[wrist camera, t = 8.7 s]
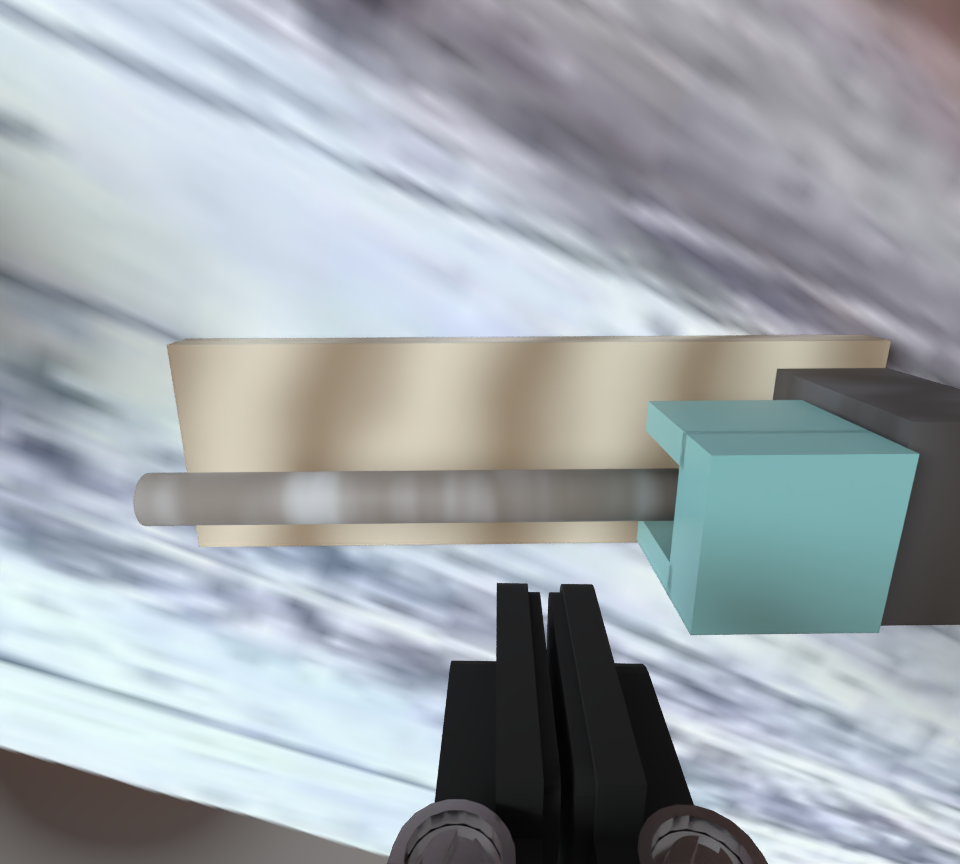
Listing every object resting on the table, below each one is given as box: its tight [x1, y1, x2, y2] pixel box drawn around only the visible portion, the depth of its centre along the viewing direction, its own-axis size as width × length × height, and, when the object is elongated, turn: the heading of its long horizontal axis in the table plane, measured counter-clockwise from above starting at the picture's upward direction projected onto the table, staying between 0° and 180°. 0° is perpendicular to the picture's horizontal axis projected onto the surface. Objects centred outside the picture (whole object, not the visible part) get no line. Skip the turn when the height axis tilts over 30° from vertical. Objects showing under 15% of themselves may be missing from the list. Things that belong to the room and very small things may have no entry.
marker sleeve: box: [637, 400, 919, 635], centre depth 17 cm, size 5×5×5 cm
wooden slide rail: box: [134, 335, 960, 626], centre depth 20 cm, size 26×8×8 cm, turn 90°
